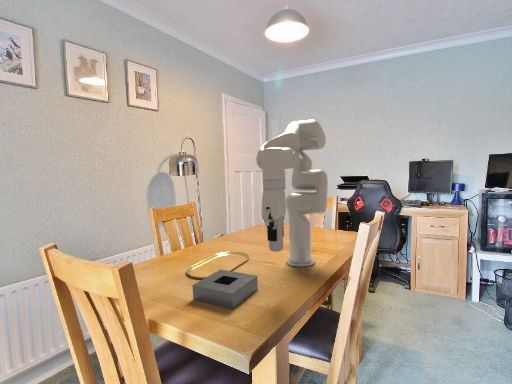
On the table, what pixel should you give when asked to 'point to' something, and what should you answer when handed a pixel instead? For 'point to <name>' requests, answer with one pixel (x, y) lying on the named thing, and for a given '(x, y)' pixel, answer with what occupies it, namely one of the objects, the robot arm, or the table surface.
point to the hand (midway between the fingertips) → (275, 238)
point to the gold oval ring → (214, 258)
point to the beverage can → (278, 244)
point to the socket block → (225, 288)
